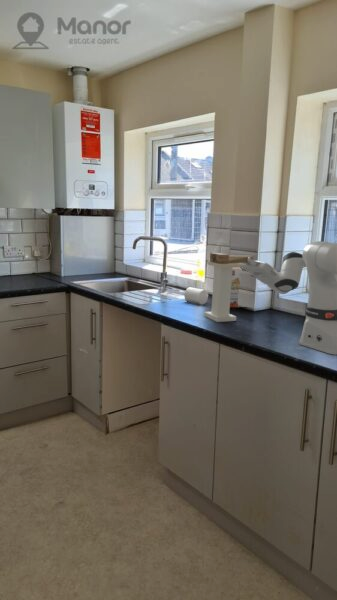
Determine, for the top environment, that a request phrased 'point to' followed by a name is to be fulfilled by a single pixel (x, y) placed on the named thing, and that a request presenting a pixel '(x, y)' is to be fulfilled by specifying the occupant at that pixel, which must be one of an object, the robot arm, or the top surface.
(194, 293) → the mug
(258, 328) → the top surface
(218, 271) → the stand
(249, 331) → the top surface
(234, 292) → the cracker box
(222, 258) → the mallet
